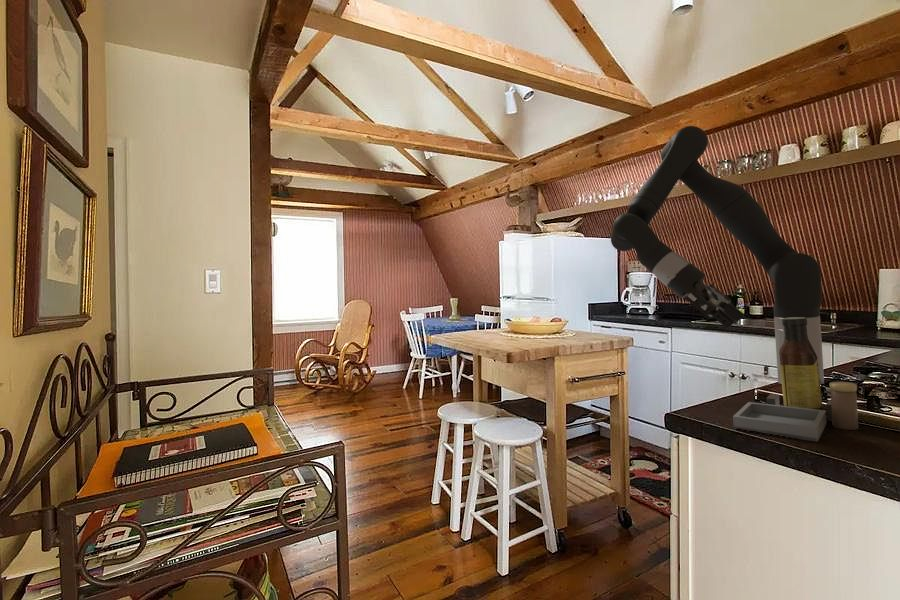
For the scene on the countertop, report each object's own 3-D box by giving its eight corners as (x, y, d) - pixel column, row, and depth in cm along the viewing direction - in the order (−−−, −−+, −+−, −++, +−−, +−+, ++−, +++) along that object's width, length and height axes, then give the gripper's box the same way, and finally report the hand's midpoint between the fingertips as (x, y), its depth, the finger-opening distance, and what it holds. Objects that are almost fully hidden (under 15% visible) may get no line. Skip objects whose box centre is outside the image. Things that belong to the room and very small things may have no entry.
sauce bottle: (831, 417, 87) (825, 317, 87) (799, 419, 88) (793, 320, 87) (805, 408, 94) (799, 315, 93) (775, 410, 94) (769, 317, 93)
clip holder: (766, 406, 97) (766, 392, 97) (845, 415, 88) (844, 400, 88) (761, 412, 94) (760, 398, 94) (843, 422, 84) (842, 406, 84)
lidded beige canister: (833, 422, 85) (830, 380, 85) (860, 425, 82) (857, 382, 82) (830, 427, 82) (828, 385, 82) (858, 431, 80) (855, 387, 79)
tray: (748, 413, 94) (748, 401, 93) (826, 423, 84) (825, 410, 84) (733, 429, 86) (732, 416, 85) (817, 441, 76) (816, 427, 76)
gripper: (677, 282, 113) (732, 327, 106) (656, 289, 103) (714, 339, 96) (698, 260, 109) (757, 305, 101) (678, 264, 99) (741, 315, 92)
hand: (736, 321), depth 99 cm, fingers open, 8 cm apart
